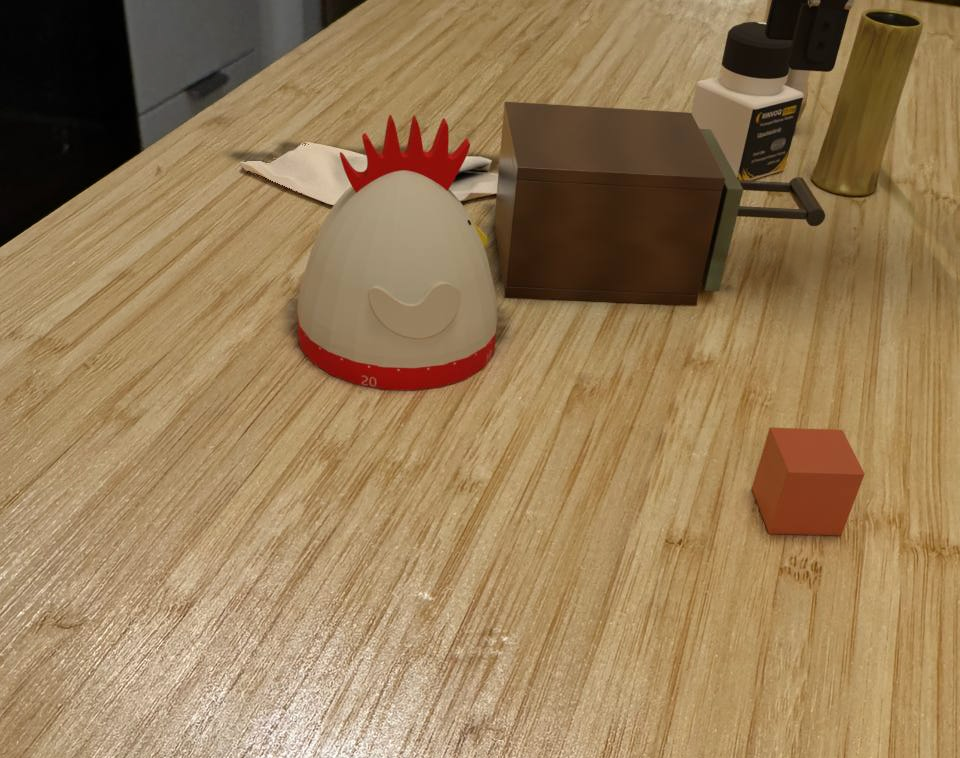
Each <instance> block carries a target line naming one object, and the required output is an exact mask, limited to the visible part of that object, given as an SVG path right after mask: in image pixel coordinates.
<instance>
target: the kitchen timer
mask: <svg viewBox="0 0 960 758" xmlns="http://www.w3.org/2000/svg"><path fill="white" fill-rule="evenodd" d="M419 124H420V123H419V121H418V119H417V117H416V115H415V114H413V115H412V118H411V122H410V129H409V133H408V134H409V135H408V140H407V145H406V148H405V150H404V151H402V150H401V147H400V141H399V136H398V132H397V127H396V123H395V121H394V118H393V115H392V114H389V115H388V117H387V122H386V129H385V134H384V141H383V145H382V149H381V152H379V151H377V149H376V148H375V146H374V144H373V142H372V141H371V139H370V138H369V136H368V135H367V133H365V132H363V133H362V135H361V137H362V143H363V147H364V151H365V152H364V153H365V155H366V156H367V169H366V170H365V171H363V172H358V171H356V170H355V169H354V168H353V167H352V166H351V165H350V163H349V162H348V160H347V159H346V157H345V156H344V154H343V153H342V152H340V158H341V161H342V165H343V168H344V170H345V173H346V175H347V177H348V180H349V182H350V184H351V185H352V186H351V187H350V188H349V189H348V190H347V191H346V192H345V193H344V194H343V195H342V196H341V197H340V198H339V199H338V201H337V202H336V203H335V205H332V207H331V209H330V210H329V212H328V213H327V215H326V217H325V218H324V221H323V222H322V224H321V226H320V228H319V231H318V233H317V235H316V237H315V240H314V241H313V245H312V246H311V249H310V254H309V257H308V259H307V263H306V266H305V270H304V273H303V277H302V280H301V284H300V288H299V293H298V299H297V307H296V308H297V311H296V315H297V335H298V340H299V347H300V349H301V351H302V352H303V353H304V355H305V356H306V357H307V359H308V360H309V361H310V362H311V363H312V364H314V365H315V366H316V367H318V368H320V369H321V370H323V371H324V372H325V373H327V374H328V375H330V376H333V377H336V378H338V379H341V380H342V381H343V380H344V381H346V382H349V383H351V384H354V385H357V386H364V387H369V388H374V389H380V390H391V391H420V390H427V389H428V390H429V389H435V388H436V389H437V388H443V387H446V386H450V385H452V384H455V383H458V382H461V381H464V380H467V379H468V378H470V377H472V376H474V375H475V374H477V373H479V372H480V371H482V370H483V369H484V368H485V366H487V364H488V363H489V362H490V360H491V359H492V358H493V357H494V354H495V347H496V341H497V332H498V331H497V329H498V320H499V319H498V301H497V296H496V289H495V286H494V285H495V284H494V280H493V276H492V272H491V267H490V264H489V260H488V259H489V258H488V256H487V251H486V250H485V248H486V246H487V243H488V242H489V238H488V236H487V235H486V234H485V233H484V231H482V230H481V228H480V227H478V226H477V224H476V223H475V222H474V221H473V220H472V218H471V216H470V214H469V213H468V211H467V209H466V207H465V206H464V204H463V203H462V202H460V201H459V199H458V198H457V197H456V196H455V195H454V194H453V193H452V192H451V190H449V188H450V186H451V184H452V183H453V181H454V179H455V177H456V175H457V174H458V172H459V170H460V168H461V166H462V164H463V162H464V160H465V158H466V156H468V153H469V151H470V148H471V143H470V141H469V139H468V138H467V137H466V138H465V139H464V140H462V142H461V143H460V144H459V146H458V147H457V148H456V150H454V152H452V153H449V142H450V141H449V138H450V137H449V135H450V131H449V124H448V122H447V120H446V118H445V117H443V118H442V120H441V121H440V123H439V126H438V128H437V130H436V131H437V132H436V134H435V138H434V140H433V143H432V146H431V147H430V149H428V151H425V150H424V147H423V146H424V145H423V140H422V139H423V138H422V133H421V129H420V125H419Z"/></svg>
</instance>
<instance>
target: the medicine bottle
mask: <svg viewBox="0 0 960 758" xmlns="http://www.w3.org/2000/svg"><path fill="white" fill-rule="evenodd" d="M765 27H766V23H764V22H762V21H747V22H746V21H745V22H742V23H738V24H736V25H733V26H732V27H731V28H730V29H729V30H728V31H727V35H726V41H725V45H724V50H723V54H722V60H721V65H720V69H719V74H720V75H719V76H714V77H710V78H705V79H701V80H698V81H697V82H696V85H695V90H694V94H693V95H694V96H693V99H692V105H691V110H690V113H691V114H692V116H693V117H694V119H695V121H696V123H697V125H698V127H699V129H710V130H711V131H712V132H713V134H714V136H715V138H716V140H717V142H718V144H719V145H720V147H721V149H722V151H723V153H724V155H725V157H726V158H727V160H728V162H729V164H730V166H731V168H732V170H733V171H734V173H735V175H736V177H737V179H738V180H749V181H755V180H757V179H760V178H763V177H767V176H771V175H773V174H777V173H781V172H782V171H784V170H785V169H786V166H787V161H788V158H789V155H790V150H791V146H792V142H793V139H794V134H795V131H796V127H797V123H798V122H797V120H798V116H799V112H800V108H801V104H802V100H803V93H802V92H800V91H797V90H795V89H793V88H790V87H788V86H785V85H784V84H785V83H786V82H787V78H788V74H789V70H790V67H789V66H788V64H787V61H788V57H789V53H790V49H791V44H792V40H777V39H769V38H767V36H766V35H765Z"/></svg>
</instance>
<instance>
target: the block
mask: <svg viewBox="0 0 960 758" xmlns="http://www.w3.org/2000/svg"><path fill="white" fill-rule="evenodd" d="M864 477H865V472H864V470H863V468H862V466H861V464H860V462H859V460H858V458H857V456H856V453H855V452H854V450H853V447H852V446H851V444H850V442H849V440H848V439H847V436H846V434H845V431H844V430H842V429H824V428H801V427H800V428H798V427H797V428H796V427H769V429H768V433H767V436H766V439H765V442H764V446H763V449H762V452H761V455H760V459H759V463H758V465H757V469H756V472H755V476H754V479H753V482H752V486H751V491H752V493H753V496H754V499H755V501H756V504H757V506H758V509H759V511H760V514H761V517H762V519H763V522H764V525H765V527H766V530H767V532H768V533H767V534H770V535H805V536H807V535H808V536H811V535H812V536H842V535H843V533H844V531H845V528H846V525H847V522H848V520H849V517H850V514H851V511H852V510H853V507H854V506H853V505H854V504H855V501H856V498H857V496H858V493H859V490H860V488H861V485H862V482H863V480H864Z"/></svg>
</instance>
